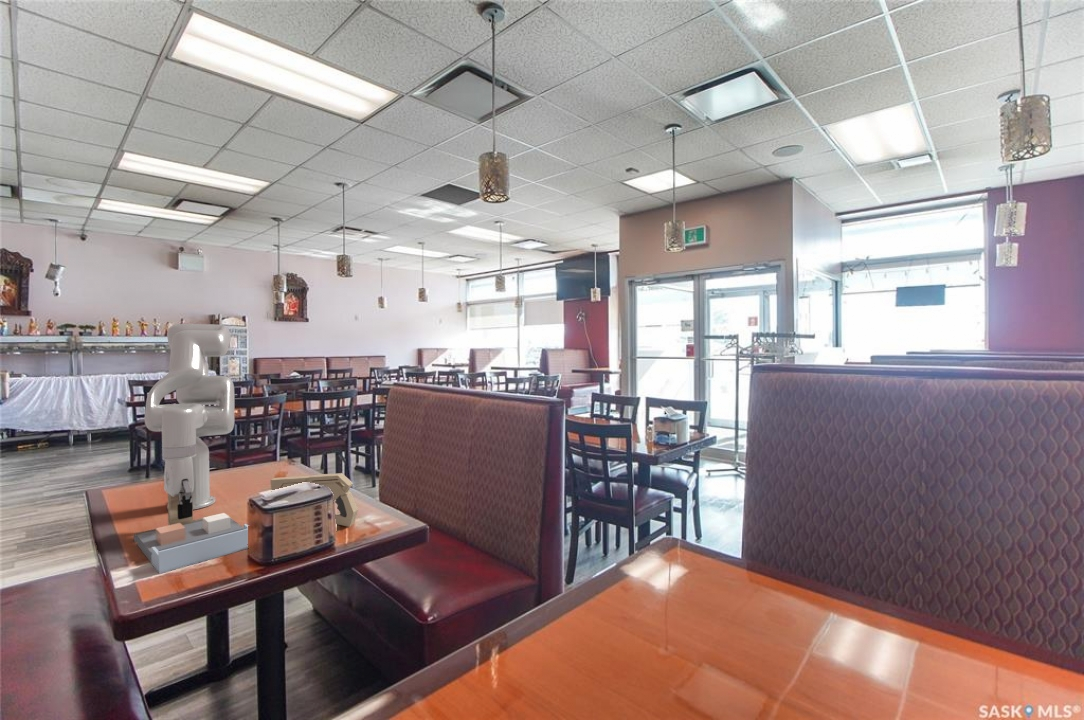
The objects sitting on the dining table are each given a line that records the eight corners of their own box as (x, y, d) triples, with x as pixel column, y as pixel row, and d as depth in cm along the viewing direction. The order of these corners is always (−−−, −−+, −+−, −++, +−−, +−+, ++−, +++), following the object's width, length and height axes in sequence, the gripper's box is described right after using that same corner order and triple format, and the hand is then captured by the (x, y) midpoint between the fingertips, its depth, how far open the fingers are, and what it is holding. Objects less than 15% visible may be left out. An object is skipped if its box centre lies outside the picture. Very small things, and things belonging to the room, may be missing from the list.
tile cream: (202, 528, 130) (202, 517, 130) (224, 523, 134) (224, 512, 133) (208, 533, 127) (208, 522, 126) (230, 528, 130) (230, 517, 130)
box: (151, 563, 115) (150, 542, 115) (245, 538, 130) (245, 519, 130) (159, 573, 110) (159, 552, 109) (256, 546, 125) (256, 527, 125)
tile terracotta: (155, 540, 122) (155, 528, 122) (180, 534, 126) (179, 522, 126) (160, 545, 119) (160, 533, 119) (185, 539, 123) (185, 527, 123)
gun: (359, 522, 141) (355, 472, 141) (354, 527, 138) (349, 475, 138) (281, 526, 144) (276, 476, 143) (274, 531, 140) (269, 479, 140)
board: (137, 545, 125) (137, 535, 125) (226, 523, 140) (226, 515, 140) (150, 562, 115) (150, 552, 115) (244, 537, 130) (244, 528, 130)
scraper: (133, 540, 128) (132, 499, 128) (220, 520, 143) (220, 483, 143) (135, 544, 126) (134, 502, 126) (224, 522, 141) (223, 485, 141)
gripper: (155, 449, 137) (156, 510, 137) (170, 459, 126) (172, 525, 126) (187, 445, 143) (188, 504, 143) (205, 454, 131) (206, 517, 132)
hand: (180, 513), depth 135 cm, fingers open, 8 cm apart
